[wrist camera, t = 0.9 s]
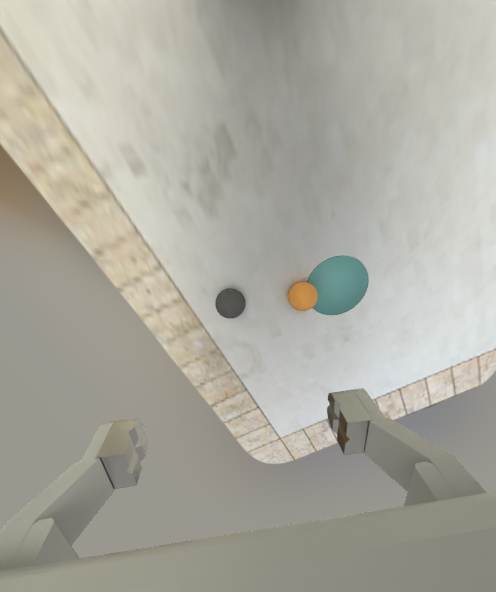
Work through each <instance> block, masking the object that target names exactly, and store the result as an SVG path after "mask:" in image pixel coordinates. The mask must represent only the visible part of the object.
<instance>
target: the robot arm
mask: <svg viewBox="0 0 496 592" xmlns="http://www.w3.org/2000/svg"><path fill="white" fill-rule="evenodd" d="M328 401H329V403H330V405H329V406H328V407H327V414H328V420H329V423H330V426H331V428H332V430H333V431H334V432H335V433H337V441H338V443H339V445H340V447H341V450H342V452H343V454H344V455H348V454H358V453H365V455H366V456H367V457H369V458H370V459H371V460H372V461H373V462H374V463H375V464H377V465H378V466H379V467H380V468H381V469H382V470H384V471H385V472H386V473H387V474H388V475H389V476H390V477H391V478H392V479H394V480H395V481H396V482H397V483H398V484H399V485H400V486H402V487H403V488H404V489H405V490H406V491H407V492H408V493H407V496H406V500H405V503H404V506H403V507H396V508H391V509H384V510H378V511H372V512H365V513H359V514H353V515H347V516H341V517H334V518H328V519H322V520H315V521H309V522H303V523H297V524H290V525H284V526H278V527H272V528H266V529H260V530H253V531H247V532H241V533H234V534H228V535H222V536H216V537H210V538H204V539H198V540H191V541H185V542H179V543H172V544H167V545H160V546H154V547H148V548H142V549H135V550H129V551H123V552H117V553H110V554H104V555H98V556H92V557H86V558H79V557H78V555H77V554H76V552H75V551H74V549H73V548H72V546H71V545H72V544H73V543H74V542H75V540H76V539H77V538H78V536H79V535H80V534H81V533H82V531H83V530H84V529H85V528H86V526H87V525H88V524H89V522H90V521H91V520H92V519H93V517H94V516H95V515H96V514H97V512H98V511H99V510H100V509H101V507H102V506H103V505H104V503H105V502H106V501H107V500H108V498H109V497H110V496H111V494H112V493H113V492H114V489H119V488H125V487H130V486H136V485H137V483H138V479H139V476H140V473H141V470H142V466H141V463H140V462H141V461H142V460H143V459H144V457H145V456H146V453H147V448H148V437H147V433H146V431H144V430H143V429H142V428H143V421H142V419H141V418H137V419H127V420H119V421H110V422H103V423H102V424H101V425H100V426H99V428H98V430H97V432H96V434H95V436H94V437H93V439H92V441H91V443H90V445H89V447H88V449H87V450H86V452H85V454H84V456H83V458H82V460H81V461H77V462H76V463H75V464H74V465H72V466H71V467H70V468H69V469H68V470H67V471H65V472H64V473H63V474H62V475H61V476H60V477H59V478H58V479H56V480H55V481H54V482H53V483H52V484H51V485H49V486H48V487H47V488H46V489H45V490H44V491H43V492H42V493H40V494H39V495H38V496H37V497H36V498H35V499H33V500H32V501H31V502H30V503H29V504H28V505H27V506H25V507H24V508H23V509H22V510H21V511H20V512H18V513H17V514H16V515H15V516H14V517H13V518H12V519H10V520H9V521H8V522H7V523H6V524H5V526H4V527H3V529H2V530H1V532H0V592H496V492H490V493H487V492H486V491H485V490H484V489H483V488H482V487H481V485H480V484H479V483H478V482H477V481H476V480H475V479H474V478H473V476H472V475H471V474H470V473H469V472H468V471H467V470H466V468H465V467H464V466H463V465H462V464H461V463H460V462H459V461H458V459H457V458H456V457H455V456H453V455H451V454H450V453H448V452H447V451H445V450H443V449H441V448H440V447H438V446H436V445H435V444H433V443H431V442H429V441H428V440H426V439H424V438H423V437H421V436H419V435H418V434H416V433H414V432H412V431H411V430H409V429H407V428H406V427H404V426H402V425H400V424H399V423H397V422H395V421H394V420H392V419H390V418H385V416H384V415H383V414H382V412H381V411H380V410H379V408H378V407H377V406H376V404H375V403H374V401H373V400H372V399H371V397H370V396H369V395H368V393H367V392H366V391H365V390H364V389H363V388H362V389H354V390H347V391H340V392H333V393H329V395H328Z"/></svg>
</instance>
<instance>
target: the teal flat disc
mask: <svg viewBox="0 0 496 592" xmlns="http://www.w3.org/2000/svg"><path fill="white" fill-rule="evenodd" d="M307 282H308V283H310V284H312V285H313V286H314V287H315V288H316V290H317V293H318V299H317V302H316V304H315V305H314V306H313V308H314V309H315V310H316V311H318V312H319V313H322V314H326V315H338V314H342V313H344V312H347V311H349V310H350V309H352V308H353V307H355V306H356V305H357V304H358V303H359V302H360V301H361V299H362V298H363V296H364V295H365V293H366V290H367V287H368V273H367V271H366V268H365V267H364V265H363V264H362V263H361V262H360V261H358V260H357V259H355V258H353V257H349V256H336V257H332V258H330V259H327V260H325V261H324V262H322V263H321V264H319V265H318V266H317V267H316V268H315V269H314V270H313V272H312V273H311V275H310V277H309V279H308V281H307Z"/></svg>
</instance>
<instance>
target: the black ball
mask: <svg viewBox="0 0 496 592" xmlns="http://www.w3.org/2000/svg"><path fill="white" fill-rule="evenodd" d="M244 308H245V299H244V297H243V295H242V294H241V293H240V292H239V291H237V290H235V289H226V290H223V291H222V292H221V293H220V294H219V295H218V296H217V298H216V309H217V311H218V312H219V314H220V315H222V316H223V317H225V318H235V317H237V316H239V315H240V314H241V313H242V312H243V310H244Z"/></svg>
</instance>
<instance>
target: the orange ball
mask: <svg viewBox="0 0 496 592" xmlns="http://www.w3.org/2000/svg"><path fill="white" fill-rule="evenodd" d="M317 299H318V293H317V290H316V288H315V287H314V286H313V285H312V284H310V283H308V282H298V283H296V284H294V285H293V286H292V287H291V288H290V290H289V293H288V300H289V302H290V304H291V305H292V307H294V308H295V309H297V310H300V311H306V310H309V309H311V308H312V307H313V306H314V305H315V304H316V302H317Z"/></svg>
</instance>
